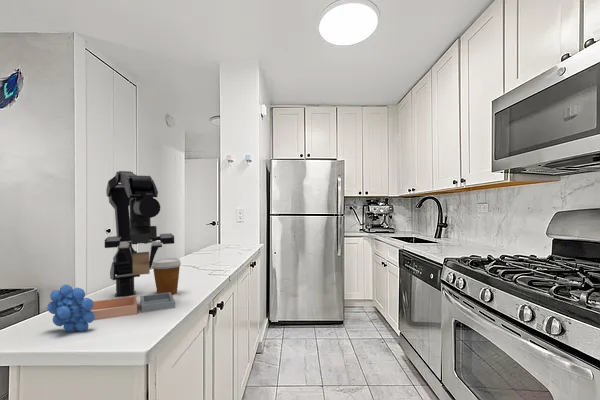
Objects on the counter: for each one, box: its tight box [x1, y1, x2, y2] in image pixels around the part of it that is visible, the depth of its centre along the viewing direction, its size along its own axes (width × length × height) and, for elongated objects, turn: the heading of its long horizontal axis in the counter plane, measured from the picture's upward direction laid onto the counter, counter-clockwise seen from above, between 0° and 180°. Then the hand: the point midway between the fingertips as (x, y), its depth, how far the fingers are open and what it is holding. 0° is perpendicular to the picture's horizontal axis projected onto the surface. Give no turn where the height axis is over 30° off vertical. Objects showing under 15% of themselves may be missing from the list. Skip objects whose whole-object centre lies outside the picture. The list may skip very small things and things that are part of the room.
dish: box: [90, 295, 138, 321], centre depth 102 cm, size 12×15×3 cm
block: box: [132, 251, 151, 276], centre depth 106 cm, size 4×4×6 cm
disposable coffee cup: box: [151, 257, 182, 296], centre depth 122 cm, size 10×10×12 cm
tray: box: [140, 292, 176, 313], centre depth 108 cm, size 12×9×2 cm
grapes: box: [46, 284, 95, 333], centre depth 86 cm, size 12×7×12 cm, turn 88°
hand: (141, 269), depth 106 cm, fingers closed on block, 4 cm apart
